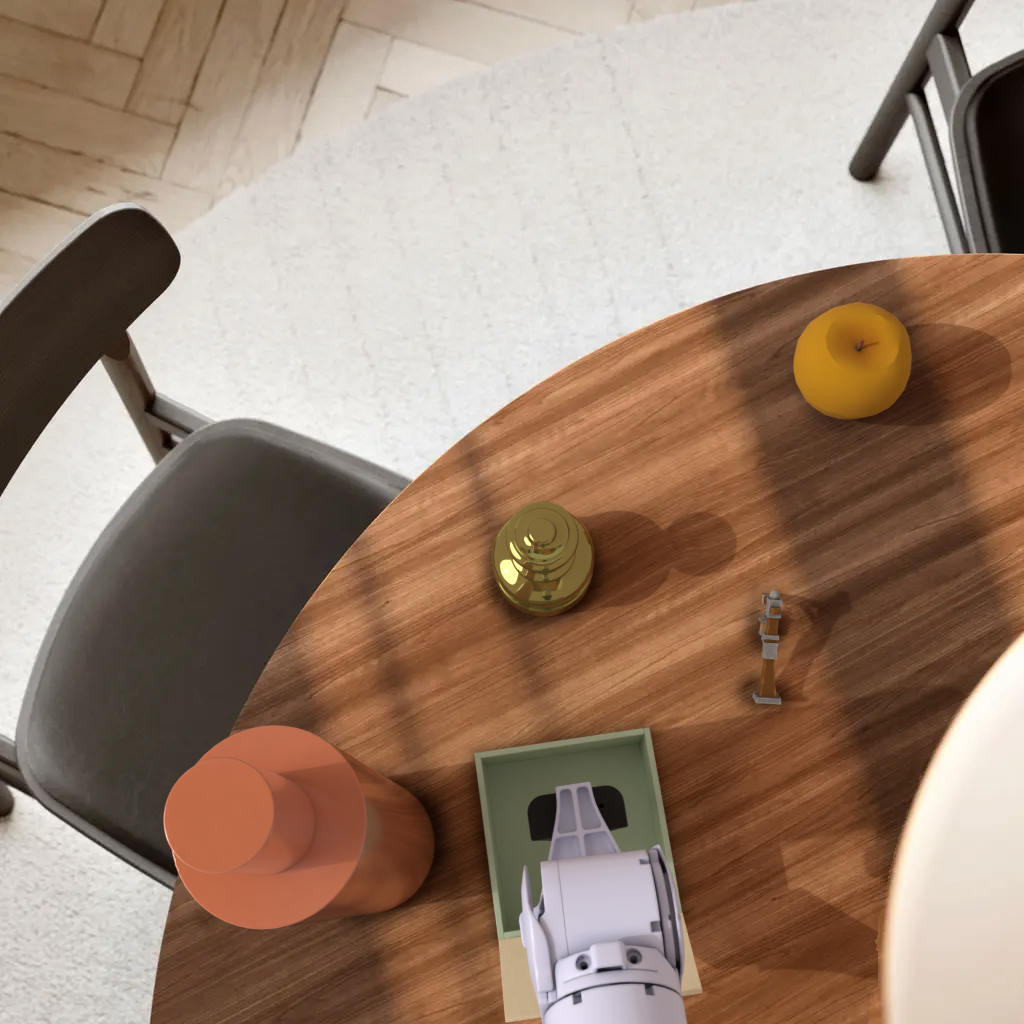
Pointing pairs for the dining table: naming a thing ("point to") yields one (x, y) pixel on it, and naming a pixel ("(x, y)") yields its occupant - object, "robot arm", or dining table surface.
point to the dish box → (539, 771)
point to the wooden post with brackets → (769, 648)
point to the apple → (853, 361)
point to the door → (521, 991)
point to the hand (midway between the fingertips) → (590, 918)
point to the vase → (294, 832)
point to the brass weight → (543, 559)
